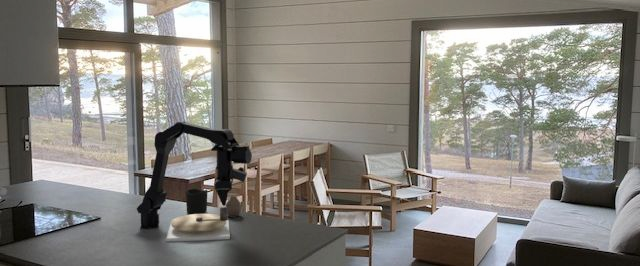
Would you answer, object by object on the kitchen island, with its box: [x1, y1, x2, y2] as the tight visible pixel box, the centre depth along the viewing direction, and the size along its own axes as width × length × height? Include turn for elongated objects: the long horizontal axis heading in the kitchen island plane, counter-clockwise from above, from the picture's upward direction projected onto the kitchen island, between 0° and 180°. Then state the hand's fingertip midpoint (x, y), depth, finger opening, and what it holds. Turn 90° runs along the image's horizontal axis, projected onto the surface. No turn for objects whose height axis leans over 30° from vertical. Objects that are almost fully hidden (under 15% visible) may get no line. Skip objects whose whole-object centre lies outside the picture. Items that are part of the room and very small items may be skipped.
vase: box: [225, 195, 242, 218], centre depth 229 cm, size 7×7×9 cm
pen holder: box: [185, 188, 208, 215], centre depth 234 cm, size 9×9×10 cm
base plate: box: [165, 219, 231, 243], centre depth 205 cm, size 23×23×1 cm
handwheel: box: [171, 205, 229, 231], centre depth 205 cm, size 22×21×8 cm
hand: (224, 202), depth 201 cm, fingers open, 9 cm apart
